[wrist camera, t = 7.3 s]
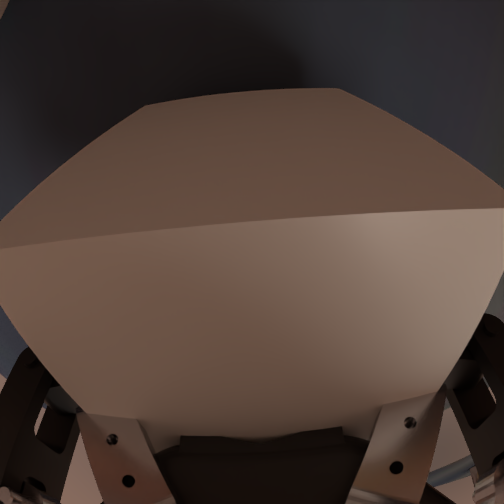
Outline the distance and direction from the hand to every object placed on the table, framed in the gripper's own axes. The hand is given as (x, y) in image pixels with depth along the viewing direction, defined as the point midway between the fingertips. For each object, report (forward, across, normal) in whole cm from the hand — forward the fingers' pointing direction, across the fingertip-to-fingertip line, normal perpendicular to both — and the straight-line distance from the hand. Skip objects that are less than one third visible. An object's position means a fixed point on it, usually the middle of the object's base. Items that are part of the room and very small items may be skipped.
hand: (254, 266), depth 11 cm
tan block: (+2, 0, 0) cm, 2 cm away
